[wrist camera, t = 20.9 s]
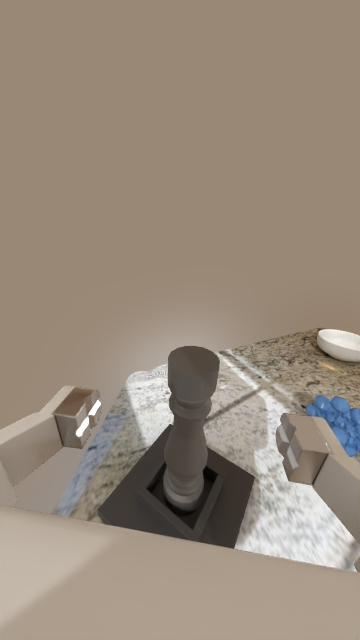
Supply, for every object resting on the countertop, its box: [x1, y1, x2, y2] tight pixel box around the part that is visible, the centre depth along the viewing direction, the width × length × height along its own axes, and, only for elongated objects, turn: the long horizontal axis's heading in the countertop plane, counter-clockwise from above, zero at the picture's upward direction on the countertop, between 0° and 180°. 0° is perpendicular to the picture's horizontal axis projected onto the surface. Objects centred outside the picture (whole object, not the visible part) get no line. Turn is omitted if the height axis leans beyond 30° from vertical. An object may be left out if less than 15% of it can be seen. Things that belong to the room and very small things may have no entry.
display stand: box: [97, 424, 255, 549], centre depth 32 cm, size 18×18×4 cm
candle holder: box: [163, 346, 220, 516], centre depth 27 cm, size 6×6×25 cm
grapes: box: [306, 395, 360, 457], centre depth 39 cm, size 12×7×12 cm, turn 50°
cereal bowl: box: [317, 329, 360, 362], centre depth 74 cm, size 17×17×7 cm
